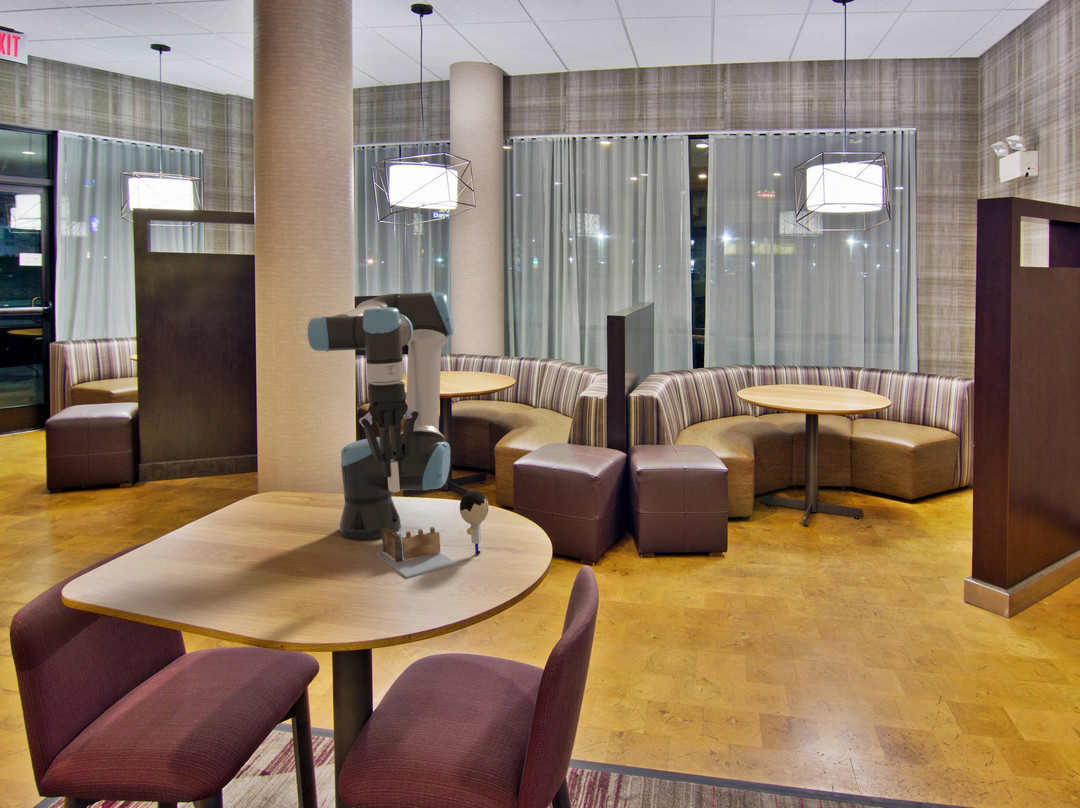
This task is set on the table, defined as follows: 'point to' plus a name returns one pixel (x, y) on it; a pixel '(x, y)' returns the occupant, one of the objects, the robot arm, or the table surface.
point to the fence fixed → (392, 544)
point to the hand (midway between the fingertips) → (394, 490)
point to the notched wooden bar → (421, 543)
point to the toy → (474, 514)
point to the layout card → (417, 563)
